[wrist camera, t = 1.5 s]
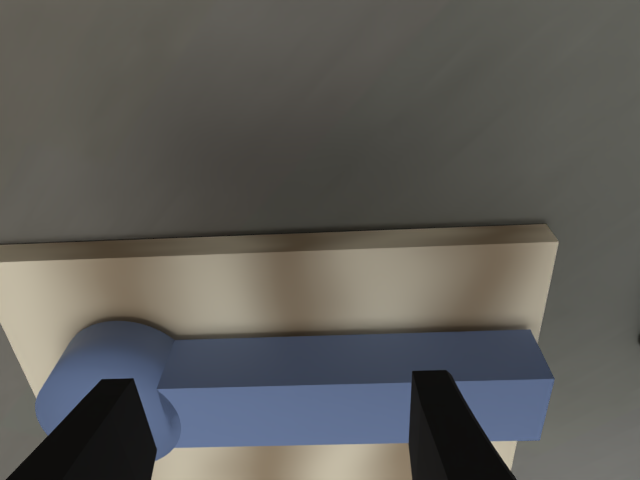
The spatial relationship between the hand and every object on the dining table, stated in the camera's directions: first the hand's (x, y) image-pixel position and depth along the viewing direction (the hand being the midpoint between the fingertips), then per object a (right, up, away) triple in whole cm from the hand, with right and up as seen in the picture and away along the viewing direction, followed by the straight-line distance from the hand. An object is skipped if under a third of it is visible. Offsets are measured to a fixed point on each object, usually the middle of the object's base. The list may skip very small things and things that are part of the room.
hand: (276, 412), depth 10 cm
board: (-1, -5, +14) cm, 15 cm away
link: (0, -2, +10) cm, 10 cm away
